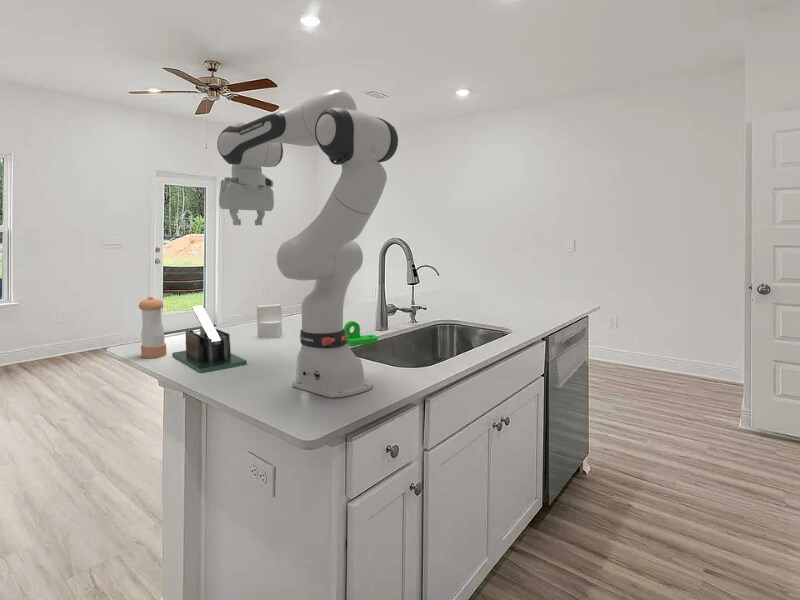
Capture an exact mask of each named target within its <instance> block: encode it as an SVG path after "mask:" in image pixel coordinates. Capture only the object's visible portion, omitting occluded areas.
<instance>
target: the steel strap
mask: <svg viewBox="0 0 800 600" xmlns="http://www.w3.org/2000/svg"><path fill="white" fill-rule="evenodd" d="M192 311H193V313H194V315H195V316H196V318H197V321H198V323H199V324H200V327H202V328H203V330H204V332H205V334H206V335H207V337H208V338H211V339H212V346H217V345H222V344H223V342H222V340H221V339H220V337H219V335H218V334H217V332H216V330H215V329H216V328H215V326H214V325H213V323H212V321H211V319H210V318H209V315H208V313H207V311H206V310H205V308H204V307H203V305H197V306H196V305H195V306H192Z"/></svg>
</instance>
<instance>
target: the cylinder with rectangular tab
mask: <svg viewBox="0 0 800 600" xmlns="http://www.w3.org/2000/svg"><path fill="white" fill-rule="evenodd" d="M256 317H257V319H256V320H257V321H256V324H257V326H256V327H257V338H258V337H259V339H261V338H274V339H278V338H277V337H279V338H281V336H283V324H282V323H283V321H282V319H283V318H282V304H279V303H277V304H275V303H274V304H263V305H262V304H261V305H256Z"/></svg>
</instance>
